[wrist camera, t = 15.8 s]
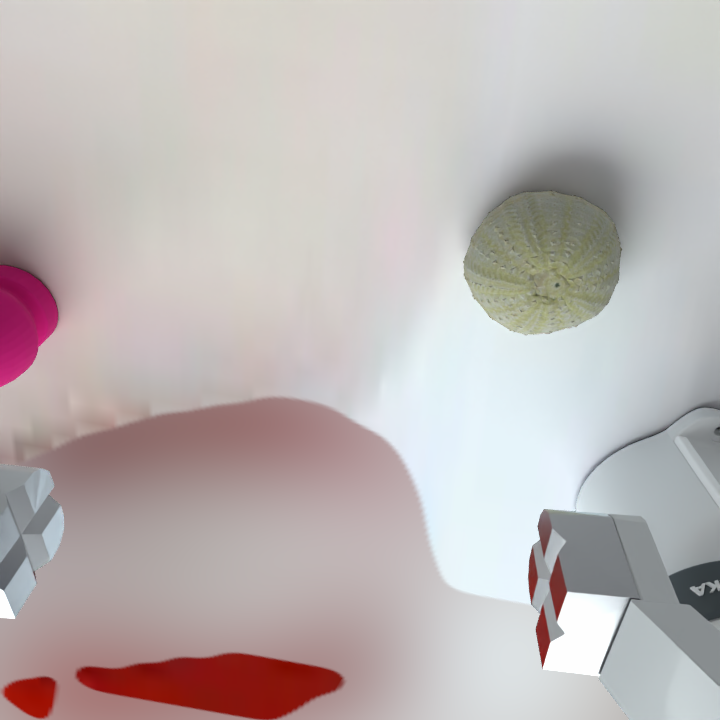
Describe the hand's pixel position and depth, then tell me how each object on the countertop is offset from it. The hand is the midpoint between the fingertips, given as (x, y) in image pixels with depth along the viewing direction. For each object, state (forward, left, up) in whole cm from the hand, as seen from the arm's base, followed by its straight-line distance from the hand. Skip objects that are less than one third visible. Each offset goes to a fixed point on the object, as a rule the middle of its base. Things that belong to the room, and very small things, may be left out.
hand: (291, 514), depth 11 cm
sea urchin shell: (-10, +8, -32) cm, 34 cm away
